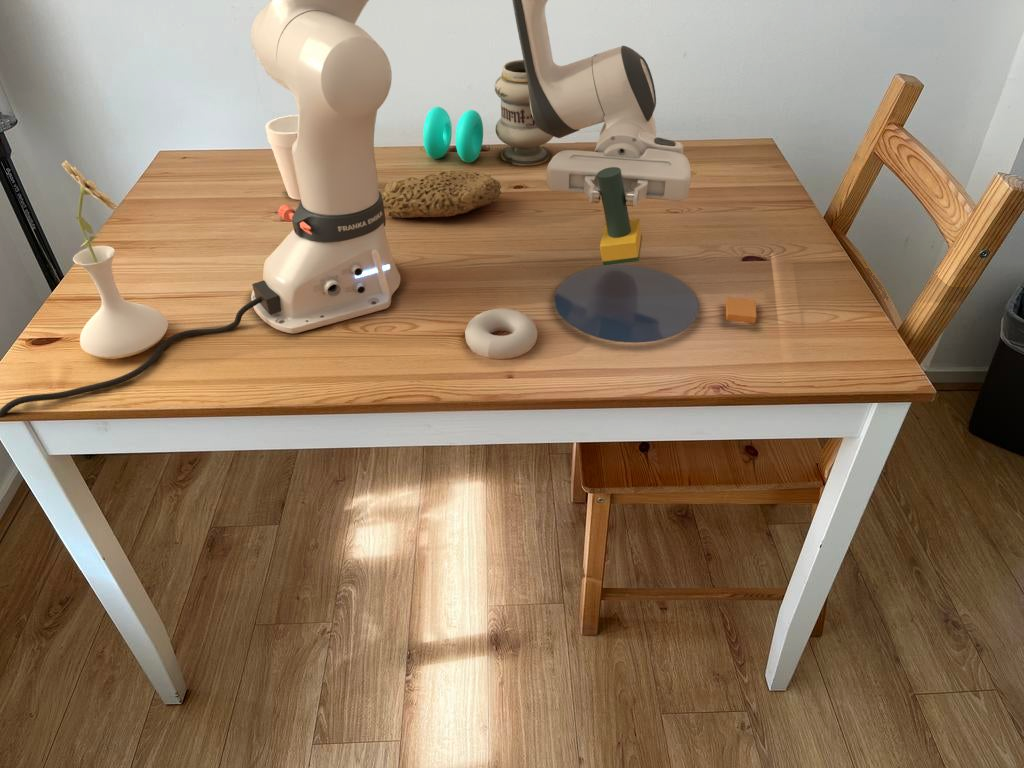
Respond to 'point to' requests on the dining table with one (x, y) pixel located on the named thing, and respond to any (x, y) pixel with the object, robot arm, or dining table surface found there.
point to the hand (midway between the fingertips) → (612, 199)
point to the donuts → (441, 132)
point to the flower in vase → (112, 296)
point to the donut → (501, 345)
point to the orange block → (741, 310)
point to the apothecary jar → (518, 119)
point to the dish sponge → (617, 221)
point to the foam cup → (285, 149)
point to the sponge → (440, 194)
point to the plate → (626, 303)
